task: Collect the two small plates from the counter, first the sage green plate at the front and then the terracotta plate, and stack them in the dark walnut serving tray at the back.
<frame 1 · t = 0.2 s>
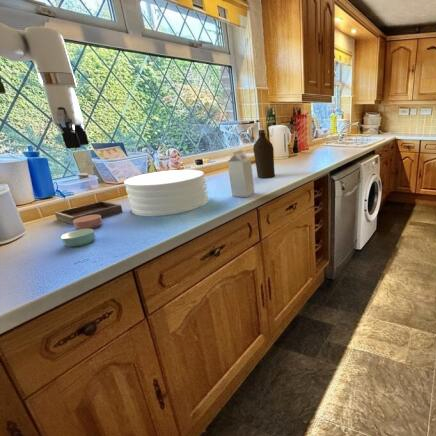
hand: (78, 146, 87), 27 cm above the countertop, tool pointing down, fingers open, 9 cm apart
olive oil: (266, 176, 168), on the countertop
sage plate: (80, 242, 88), on the countertop
plate stack: (172, 205, 122), on the countertop
milk carton: (243, 195, 133), on the countertop
terracotta plate: (89, 226, 101), on the countertop
tray: (90, 215, 112), on the countertop
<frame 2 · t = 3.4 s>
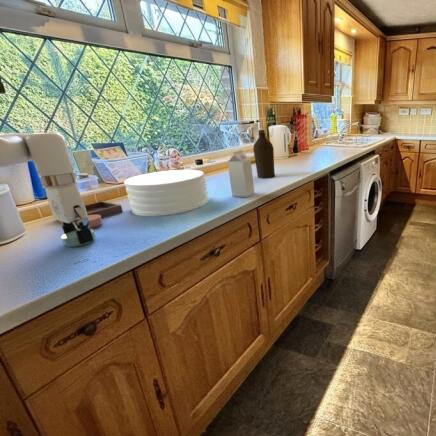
hand: (79, 239, 87), 1 cm above the countertop, tool pointing down, fingers closed on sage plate, 7 cm apart
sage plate: (81, 242, 88), on the countertop, touching gripper
everything else where it was.
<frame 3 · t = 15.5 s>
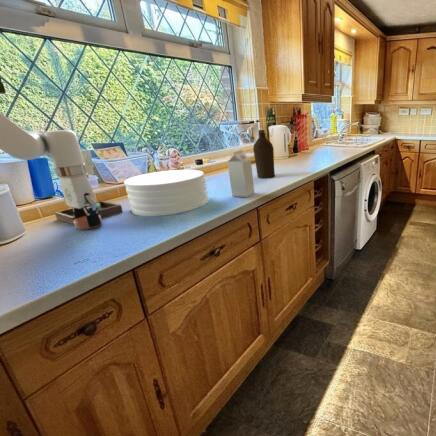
hand: (88, 223, 100), 1 cm above the countertop, tool pointing down, fingers closed on terracotta plate, 7 cm apart
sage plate: (90, 213, 111), point 1 cm above the countertop, touching tray
terracotta plate: (89, 226, 101), on the countertop, touching gripper
everything else where it was.
when the fingers open (5 cm above the countertop, at t = 21.5 s): terracotta plate stays where it is, resting on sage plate.
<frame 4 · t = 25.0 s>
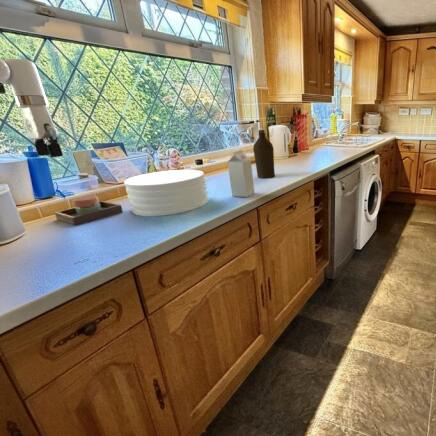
hand: (50, 155, 103), 22 cm above the countertop, tool pointing down, fingers open, 9 cm apart
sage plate: (90, 213, 111), point 1 cm above the countertop, touching terracotta plate, tray
terracotta plate: (87, 205, 110), point 4 cm above the countertop, touching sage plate
everything else where it was.
at the end: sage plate inside the target area in the tray (0.1 cm from its centre), point 0.8 cm above the tray's base; terracotta plate inside the target area on the tray (0.0 cm from its centre), point 3.8 cm above the tray's base; the gripper is holding nothing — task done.
